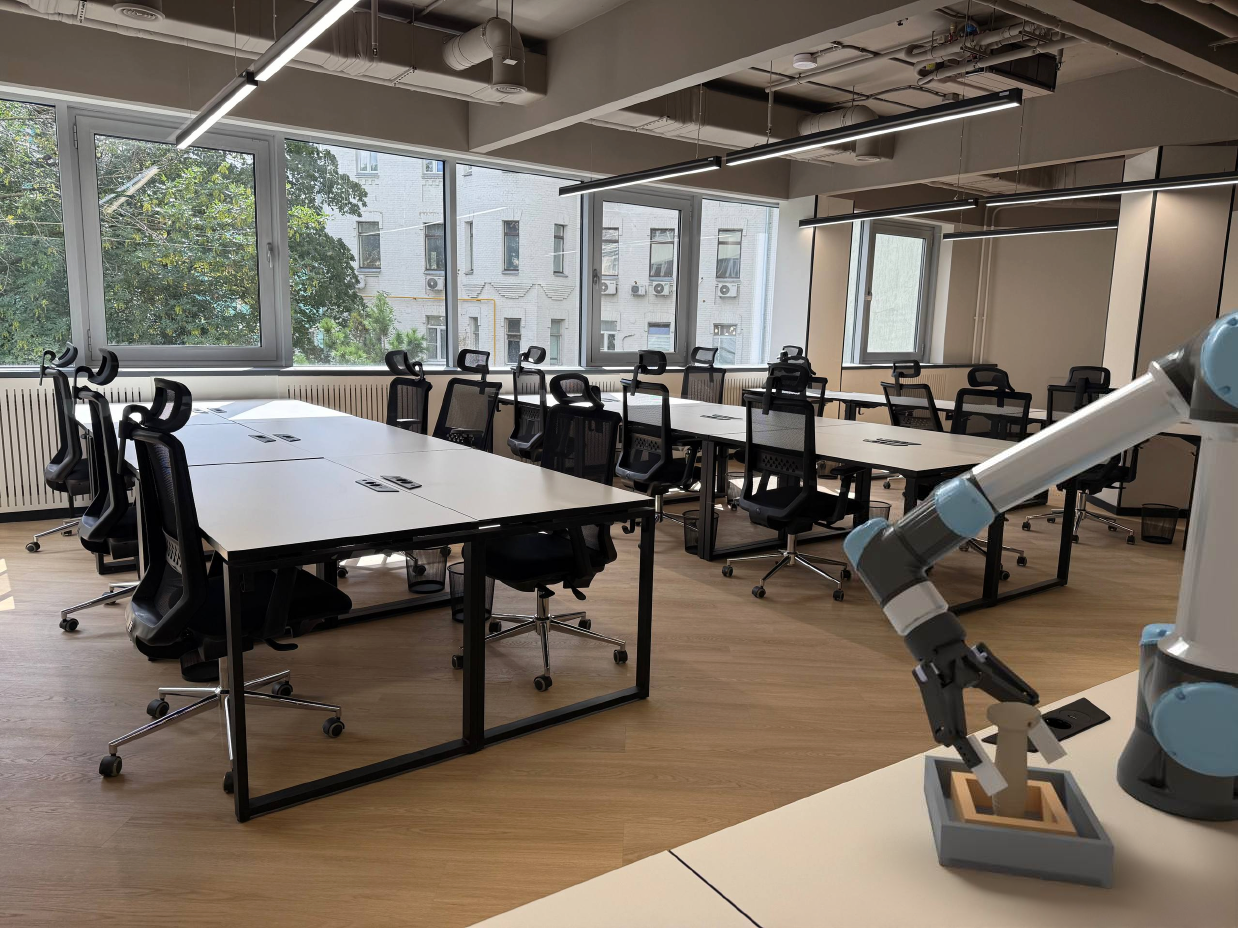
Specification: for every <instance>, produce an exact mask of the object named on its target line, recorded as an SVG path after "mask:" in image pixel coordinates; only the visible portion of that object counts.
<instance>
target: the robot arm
mask: <svg viewBox="0 0 1238 928" xmlns="http://www.w3.org/2000/svg"><path fill="white" fill-rule="evenodd" d="M1182 422H1183V423H1189V424H1191V426H1193V427H1194V428H1195V430H1197V431H1198V432H1199V434H1200V437H1201V441H1200V446H1199V447H1200V449H1199V454H1198V461H1197V462H1198V463H1197V468H1196V476H1195V481H1194V482H1195V483H1194V489H1193V497H1192V504H1191V510H1190V511H1191V512H1190V517H1189V525H1188V531H1187V532H1188V533H1187V539H1186V547H1185V553H1184V560H1183V561H1184V562H1183V569H1182V576H1181V582H1180V588H1179V589H1180V590H1179V596H1178V605H1177V611H1176V618H1175V623H1161V622H1160V623H1150V624H1148V625H1146V626H1145V627H1144V628H1143V629H1142V633H1141V634H1142V635H1141V639H1140V641H1139V642H1138V643H1139V644H1138V646H1139V647H1140V653H1139V654H1140V657H1139V665H1138V667H1139V668H1138V669H1139V670H1138V682H1137V692H1136V705H1135V707H1136V708H1135V723H1134V728H1133V730H1132V733H1131V734H1130V736H1129V739H1128V740H1127V743H1126V744H1125V746H1124V748H1123V750H1122V753H1121V754H1120V756H1119V758H1118V760H1117V764H1116V765H1117V766H1116V767H1117V768H1116V781H1117V783H1118V785H1119V786H1120V787H1121V788H1122V789H1123V790H1124V791H1125V792H1127V793H1128V794H1129V795H1131V796H1132V797H1134V798H1135V799H1138V800H1139V801H1141V802H1143V803H1145V804H1146V805H1150V806H1152V807H1154V808H1157V809H1159V810H1161V811H1162V810H1163V811H1165V812H1168V813H1171V814H1174V815H1178V816H1182V817H1186V818H1192V819H1198V820H1204V821H1205V820H1206V821H1232V820H1238V309H1235V310H1233V311H1231V312H1229V313H1226V314H1223V315H1221V316H1219V317H1217V318H1215V319H1213V320H1211V321H1210V322H1209V323H1207V324H1206V325H1205V326H1203V327H1202V328H1200V329H1199V330H1198V331H1197V332H1196V333H1194V334H1193V335H1191V337H1189V338H1188V339H1186V340H1185V341H1183V342H1181V343H1180V344H1179V345H1177V346H1176V347H1174V348H1173V349H1171V350H1170V351H1168V352H1166V353H1164V354H1163V355H1161V356H1160V357H1157V358H1156V359H1154V360H1152V361H1150V363H1149V365H1148V369H1147V372H1146V373H1144V374H1143V375H1141V376H1139V377H1137V378H1136V379H1134V380H1132V381H1130V382H1128V383H1126V384H1124V385H1122V386H1120V387H1118V388H1117V389H1115V390H1114V391H1111V392H1110V393H1108V394H1106V395H1104V396H1102V397H1100V398H1097V400H1095V401H1093V402H1091V403H1089V404H1088V405H1086V406H1084V407H1082V408H1080V409H1078V410H1077V411H1075V412H1073V413H1071V414H1069V415H1067V416H1065V417H1064V418H1062V419H1060V420H1058V421H1056V422H1054V423H1052V424H1050V425H1049V426H1047V427H1046V428H1043V429H1041V430H1039V431H1038V432H1036V433H1034V434H1033V435H1030V436H1029V437H1027V438H1025V439H1023V440H1022V441H1020V442H1018V443H1016V444H1013V445H1012V446H1011V447H1008V448H1006V449H1005V450H1003V451H1001V452H999V453H998V454H996V455H993V456H992V457H991V458H988V459H986V460H985V461H983V462H981V463H979V464H977V465H976V466H973V467H972V468H971V469H969V470H967V471H964V472H963V473H961V474H959V475H957V476H956V477H953V478H952V479H947V480H945V481H943V482H941V483H939V484H938V485H936V486H935V487H934V488H933V490H932V491H931V492H929V495H928V496H927V497H926V498H924V500H922V502H920V503H919V504H917V505H916V506H915V507H913V508H912V509H911V510H910V511H908V512H907V513H906V514H903V516H902V517H900V518H899V519H897V520H896V521H895V522H893V523H890V522H889V521H888V520H887V519H886V518H883V517H876V518H872V519H869V520H868V521H866V522H865V523H863V524H860V525H859V526H857V527H856V528H854V529H853V530H852V531H851V532H850V533H849V534H848V535H847V536H846V537H845V540H844V541H843V550H844V552H845V554H846V555H847V558H848V559H849V561H850V562H851V564H852V566H853V567H854V571H855V572H856V574H857V575H858V576H859V577H860V579H861V580H862V581H863V583H864V585H865V586H866V588H867V589H868V590H869V591H870V593H871V594H872V597H874V599H875V600H876V602H877V603H878V605H879V607H880V608H881V609H882V611H883V612H884V614H885V615H886V617H887V618H888V620H889V621H890V623H891V624H892V626H893V627H894V629H895V630H896V632H897V634H898V635H899V636H904V637H903V643H904V644H905V646H906V648H907V649H908V650H909V652H910V654H911V655H912V657H913V658H914V660H915V661H916V662H917V663H920V664H919V665H917V666H916V667H914V669H912V670H911V675H912V676H913V678H914V680H915V682H916V683H917V685H918V687H919V690H920V694H921V698H922V701H923V705H924V708H925V712H926V716H927V718H928V719H927V720H928V722H929V726H930V730H931V733H932V737H933V740H934V741H935V742H936V743H937V744H938V745H941V744H942V745H943V746H944V747H945V748H946V749H947V748H951V747H952V746H953V747H954V749H955V750H956V752H957V754H958V755H959V756H960V759H962V760H963V761H964V763H965V764H966V766H967V767H968V768H969V769H971V770H972V772H973V773H974V775H975V776H976V778H977V779H978V781H979V783H980V784H981V786H982V787H983V789H984V790H985V792H986V793H987V795H988V796H991V795H993V794H994V793H996V792H998V791H1000V790H1002V789H1004V788H1006V787H1007V786H1008V784H1007V783H1006V781H1005V780H1004V778H1003V777H1002V775H1001V774H1000V772H999V771H998V769H997V768H996V766H995V765H994V763H995V762H994V761H993V760H992V759H991V758H990V756H989V755H988V753H987V752H986V750H985V748H984V747H983V745H982V744H981V742H980V741H979V739H978V738H977V737H976V735H975V734H974V733H973V734H970V735H969V736H968V726H967V719H966V718H967V717H966V710H965V700H964V693H963V691H964V689H969V688H973V689H979V690H981V691H983V692H984V693H986V694H987V695H989V696H990V697H992V698H993V699H994V700H996V701H998V702H999V703H1003V702H1020V703H1024V704H1028V705H1031V706H1033V707H1036V706H1037V705H1039V704H1040V701H1041V700H1040V699H1039V698H1040V695H1039V693H1038V692H1037V691H1036V690H1035V689H1034V688H1033V687H1031V686H1030V685H1029V684H1028V683H1027V682H1026V681H1025V680H1023V679H1022V678H1021V677H1020V676H1019V675H1018V674H1016V672H1014V671H1013V670H1012V669H1011V668H1009V666H1008V665H1006V664H1005V663H1004V662H1003V661H1001V660H1000V659H999V658H998V657H996V656H995V655H994V654H993V652H992V650H990V648H989V647H988V645H986V643H984V642H983V641H979V642H978V643H977V644H976V645H974V646H973V647H972V648H970V646H969V645H968V644H966V641H965V639H966V638H967V635H968V633H967V630H966V629H965V628H964V626H963V625H962V622H960V620H959V619H958V617H956V615H955V613H954V612H951V611H948V609H949V604H948V603H947V602H946V600H945V599H944V598H943V596H942V595H941V594H940V592H939V590H938V589H937V588H936V587H935V585H934V584H933V583H932V581H931V580H930V578H929V577H928V576H927V574H926V573H925V570H927V569H928V568H931V567H932V566H933V565H934V564H935V563H936V562H938V561H939V560H941V559H942V558H944V557H945V556H947V555H948V554H950V553H951V552H953V551H955V550H956V549H957V548H959V547H960V546H961V545H963V544H964V543H966V542H967V541H969V540H970V539H973V538H976V537H977V536H978V535H980V533H981V532H982V531H983V530H984V529H986V528H987V527H988V526H990V525H991V524H992V523H993V522H994V520H995V517H996V516H998V515H999V514H1001V513H1003V512H1005V511H1007V510H1009V509H1011V508H1013V507H1015V506H1017V505H1018V504H1021V503H1022V502H1023V503H1024V501H1026V500H1028V499H1030V498H1033V497H1034V496H1036V495H1039V494H1040V493H1042V492H1044V491H1046V490H1049V489H1050V488H1052V487H1055V486H1056V485H1059V484H1061V483H1062V482H1065V481H1066V480H1069V479H1070V478H1072V477H1074V476H1077V475H1078V474H1080V473H1082V472H1084V471H1086V470H1088V469H1090V468H1092V467H1094V466H1096V465H1098V464H1100V463H1102V462H1103V461H1106V460H1108V459H1109V458H1112V457H1114V456H1116V455H1118V454H1120V453H1121V452H1124V451H1126V450H1128V449H1130V448H1131V447H1134V446H1135V445H1137V444H1139V443H1141V442H1144V441H1145V440H1147V439H1149V438H1151V437H1153V436H1156V435H1157V434H1159V433H1161V432H1164V431H1165V430H1168V429H1169V428H1172V427H1173V426H1176V425H1177V424H1179V423H1182ZM942 728H943V729H942ZM1027 737H1029V739H1030V741H1031V742H1032V744H1033V745H1034V746H1035V748H1036V749H1037V751H1038V752H1039V754H1040V756H1042V758H1043V759H1044V761H1045V762H1046V764H1047V765H1051V764H1052V763H1054V762H1056V761H1058V760H1060V759H1061V758H1064V757H1065V756H1066V755H1068V753H1067V752H1066V750H1065V749H1064V747H1063V745H1061V742H1059V740H1058V739H1057V738H1056V736H1055V735H1054V733H1053V732H1052V731H1051V729H1050V727H1049V726H1048V724H1047V722H1045V719H1043V717H1042V716H1041V720H1040V722H1039V724H1038V725H1037V726H1036V727H1035V728H1033V729H1032V730H1029V731H1028V736H1027ZM993 762H994V763H993Z"/></svg>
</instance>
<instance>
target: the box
mask: <svg viewBox="0 0 1238 928" xmlns="http://www.w3.org/2000/svg"><path fill="white" fill-rule="evenodd" d="M992 762H993V763H995V761H992ZM923 774H924V775H923V777H924V778H923V792H924V797H925V802H926V807H927V811H928V812H927V813H928V817H929V821H930V826H931V831H932V836H933V840H934V845H935V849H936V853H937V854H936V855H937V859H938V864H939V866H947V867H953V868H954V867H955V868H959V869H960V868H963V869H969V870H976V871H983V872H990V873H998V874H1005V875H1010V876H1011V875H1013V876H1019V877H1027V878H1034V879H1042V880H1046V881H1047V880H1049V881H1054V882H1055V881H1056V882H1062V883H1069V884H1077V885H1085V886H1091V887H1097V888H1098V887H1099V888H1106V889H1111V888H1112V881H1113V879H1112V878H1113V864H1114V849H1115V846H1114V844H1113V842H1112V841H1111V839H1110V837H1109V835H1108V834H1107V832H1106V830H1105V828H1104V827H1103V825H1102V824H1101V821H1100V820H1099V818H1098V816H1097V815H1096V813H1095V811H1094V810H1093V808H1092V806H1091V804H1090V803H1089V801H1088V799H1087V797H1086V795H1085V794H1084V792H1083V791H1082V789H1081V787H1080V786H1079V784H1078V782H1077V781H1076V778H1075V777H1074V775H1073V773H1072V772H1071V770H1066V769H1059V768H1048V767H1039V766H1037V767H1036V766H1031V765H1027V775H1028V786H1027V798H1026V806H1025V811H1024V815H1023V819H1017V818H1008V817H1000V816H993V815H994V814H995V812H994V810H993V802H992V795H991V796H988V795H987V793H986V792H985V790H984V789H983V787H982V786H981V784H980V783H979V781H978V779H977V778H976V776H975V775H974V773H973V772H972V770H971V769H969V768H968V767H967V766H966V764H965V763H964V761H963V760H962V758H956V757H947V756H946V757H945V756H936V755H928V754H927V755H926V754H925V755H924V773H923Z"/></svg>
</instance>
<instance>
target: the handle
mask: <svg viewBox="0 0 1238 928" xmlns="http://www.w3.org/2000/svg"><path fill="white" fill-rule="evenodd" d="M1041 717H1042V711H1041V709H1038V708H1037V707H1036V706H1034V707H1033V706H1031V705H1028V704H1024V703H1020V702H1003V703H1001V702H998V703H993V704H991V705H989V706H988V707H987V708H986V719H987V720H988V722H989V723H991V724H992V725H994V726H995V727H997V740H996V747H995V748H996V749H995V757H994V765H995V766H996V768H997V769H998V771H999V772H1000V774H1001V775H1002V777H1003V778H1004V780H1005V781H1006V783H1007V784H1008V786H1007V787H1006V788H1004V789H1002V790H1000V791H998V792H996V793H994V794H993V795H992V802H993V810H994V812H995V814H994V815H993V816H1000V817H1008V818H1017V819H1023V815H1024V811H1025V806H1026V798H1027V786H1028V775H1027V766H1028V737H1029V736H1028V731H1029V730H1032V729H1033V728H1035V727H1036V726H1037V725H1038V724H1039V722H1040V720H1041Z"/></svg>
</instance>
